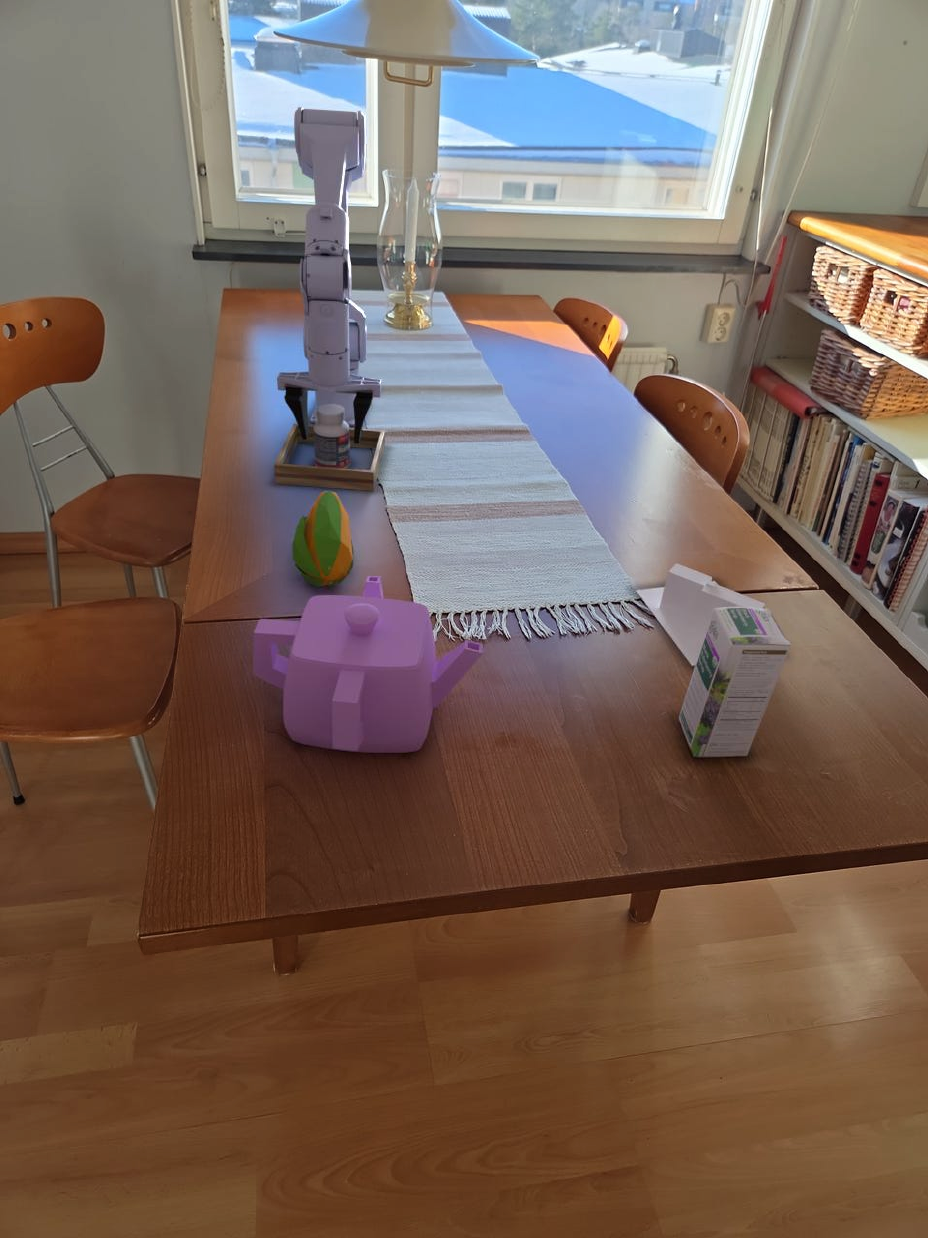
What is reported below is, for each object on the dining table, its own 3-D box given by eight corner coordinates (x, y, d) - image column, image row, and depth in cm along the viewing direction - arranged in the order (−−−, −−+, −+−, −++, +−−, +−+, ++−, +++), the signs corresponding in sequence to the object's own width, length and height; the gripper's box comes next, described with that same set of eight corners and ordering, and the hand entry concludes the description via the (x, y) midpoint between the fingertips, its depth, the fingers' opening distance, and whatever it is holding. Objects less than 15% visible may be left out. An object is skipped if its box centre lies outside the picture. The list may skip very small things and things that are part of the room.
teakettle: (245, 701, 85) (232, 602, 78) (377, 636, 95) (377, 542, 87) (346, 801, 76) (343, 700, 68) (482, 718, 85) (492, 621, 78)
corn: (289, 547, 94) (297, 464, 110) (289, 602, 99) (296, 515, 114) (356, 550, 95) (354, 468, 111) (353, 604, 100) (351, 518, 116)
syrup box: (676, 718, 87) (709, 605, 78) (731, 717, 88) (770, 605, 79) (692, 758, 83) (730, 643, 74) (750, 758, 83) (794, 643, 75)
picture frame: (294, 441, 133) (293, 423, 131) (384, 447, 133) (385, 430, 131) (275, 483, 121) (273, 465, 120) (373, 491, 121) (373, 472, 120)
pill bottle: (343, 475, 125) (342, 419, 119) (309, 470, 125) (307, 413, 120) (354, 460, 129) (353, 404, 124) (321, 454, 130) (319, 399, 124)
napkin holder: (780, 653, 97) (794, 613, 94) (692, 666, 94) (704, 626, 91) (713, 580, 108) (725, 542, 105) (634, 590, 105) (642, 551, 102)
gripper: (269, 353, 113) (276, 446, 121) (377, 361, 113) (377, 454, 121) (280, 336, 119) (286, 426, 127) (383, 343, 119) (382, 433, 127)
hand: (331, 438), depth 124 cm, fingers open, 7 cm apart
